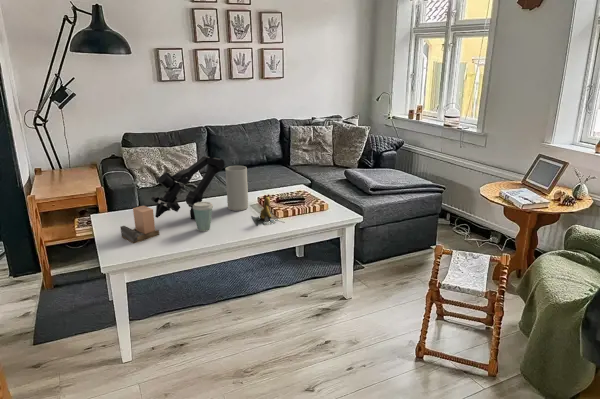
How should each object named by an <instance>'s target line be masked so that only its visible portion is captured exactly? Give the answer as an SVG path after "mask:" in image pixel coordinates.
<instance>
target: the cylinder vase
mask: <svg viewBox="0 0 600 399" xmlns="http://www.w3.org/2000/svg"><path fill="white" fill-rule="evenodd" d="M225 183H226V184H225V185H226V200H227V201H226V203H227V208H228V210H229V211H233V212H239V211H240V212H241V211H246V209H249V192H248V191H249V190H248V188H249V187H248V168H247V166H244V165H230V166H227V167H225Z"/></svg>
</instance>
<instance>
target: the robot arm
mask: <svg viewBox="0 0 600 399" xmlns="http://www.w3.org/2000/svg"><path fill="white" fill-rule="evenodd" d="M207 165H208V169H207V171H206V173H205V174H204V175H203V177H202V179H201V181H200V182H199V184H198V185H197V186H196V187H195V189H194V190H189V191H188V194H187V195H186V198H185V202H186V205H188V207H189V208H190V210H189V217H190V220H195V215H194V210H193V205H194V204H195V203H198V202H203V195H204V193H205V191H206V190H207V189H208V187H209V185H210V184H211V182H212V180H213V179H214V178H215V176H216V175H217V174H218V173H219V172H221V171H222V170H223V169H224V167H225V165H226V164H225V161H224V159H222V158H218V157H211V156H206V155H204V156H202V157H201V158H200V159H198V160H197V161H196V162H194V163H192V165H190V166H189V167H187V168H185V169H181V170H179V171H177V172H176V173H175V174H173V175H171V174H170V173H169V172H166V171H165V172H164V173H163V174H161V175H160V176H159V177H158V180H157V182H158V183H159V184H161V186H163V187H164V188H165V189H167V190H164V194H163V196H160V197H158V196H156V195H153V196H152V197H151V198H150V200H151V201H152V202H154V203H155V204H156V206H155V207H156V208H155V215H154V216H155V217H154V218H157V219H158V218H160V216H162V215H163V214H164V213H166V212H168V211H171V210H172V211H174V212H176V213H178V212H179V210H180V209H181V206H180V204H179V202H178V201H177V200H178V197H177V196H178V194H179V193H180V192H181V190H182V191H185V190H186V189H185V184H188V183H189V182H190V181H191V180H192V178H193V176H194V175H195V174H197V173H198V172H199V171H201V170H202V169H204V167H206V166H207Z"/></svg>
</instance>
